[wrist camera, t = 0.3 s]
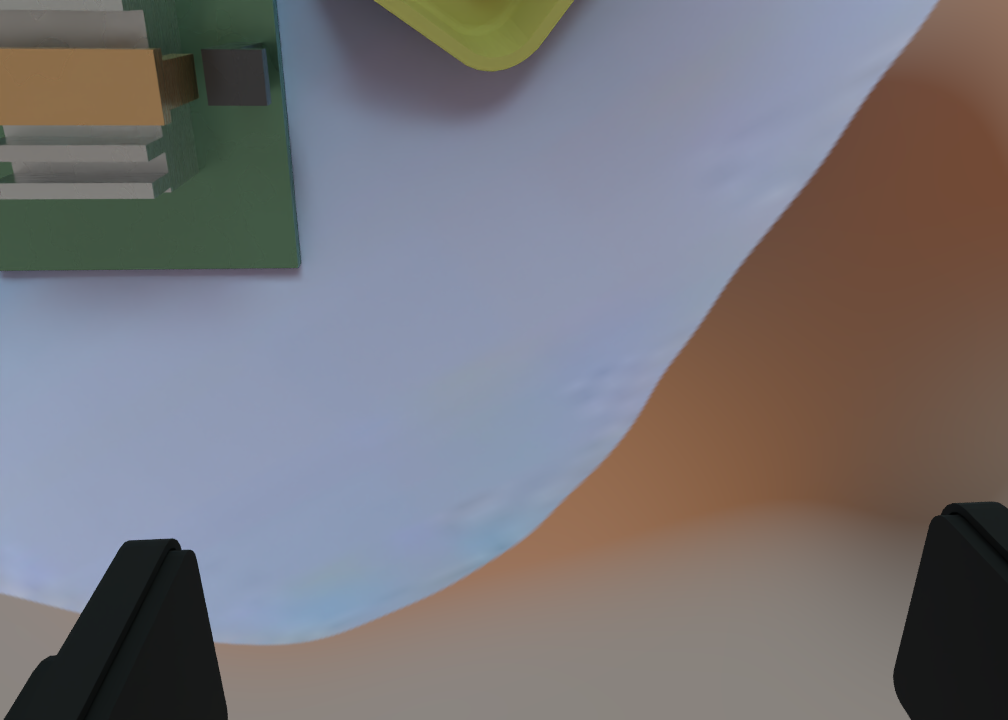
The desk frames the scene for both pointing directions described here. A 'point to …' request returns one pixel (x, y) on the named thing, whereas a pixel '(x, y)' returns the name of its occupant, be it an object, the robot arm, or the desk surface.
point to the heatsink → (155, 148)
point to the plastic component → (482, 27)
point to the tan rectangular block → (93, 85)
